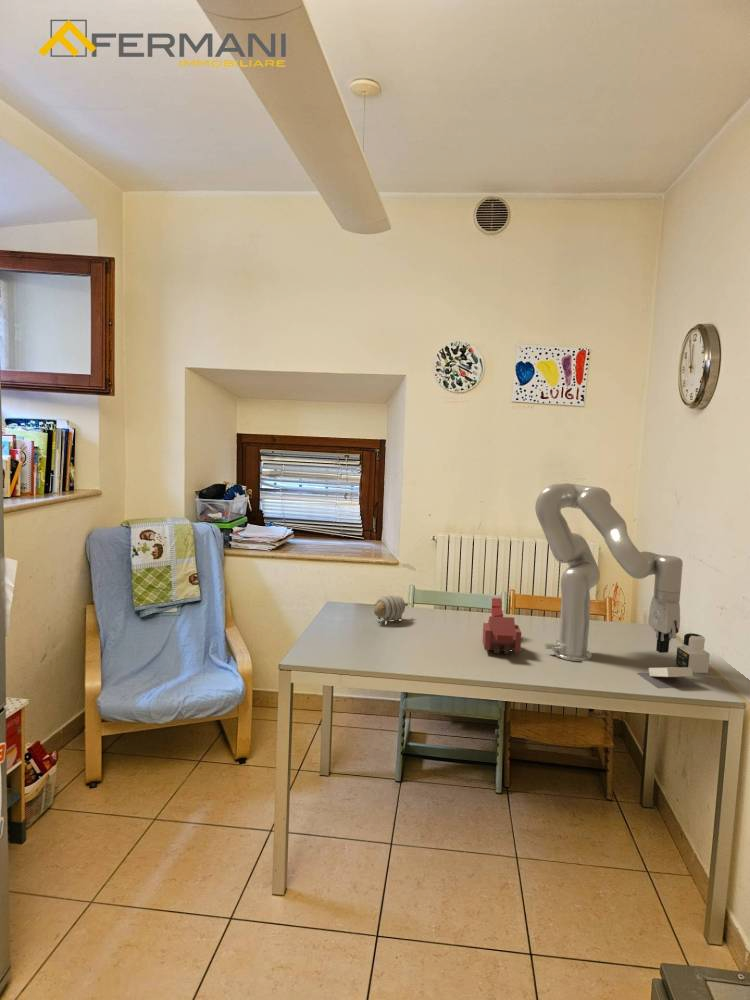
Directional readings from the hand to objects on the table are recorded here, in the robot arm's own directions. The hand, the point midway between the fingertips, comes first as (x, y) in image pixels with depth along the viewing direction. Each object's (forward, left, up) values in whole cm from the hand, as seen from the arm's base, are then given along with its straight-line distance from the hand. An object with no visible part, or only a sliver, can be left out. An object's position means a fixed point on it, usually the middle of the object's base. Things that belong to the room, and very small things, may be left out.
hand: (662, 651), depth 198 cm
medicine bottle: (+14, +5, -9) cm, 17 cm away
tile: (0, 0, -7) cm, 7 cm away
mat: (0, -4, -8) cm, 9 cm away
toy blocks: (-43, +30, -9) cm, 53 cm away
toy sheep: (-77, +60, -9) cm, 98 cm away
